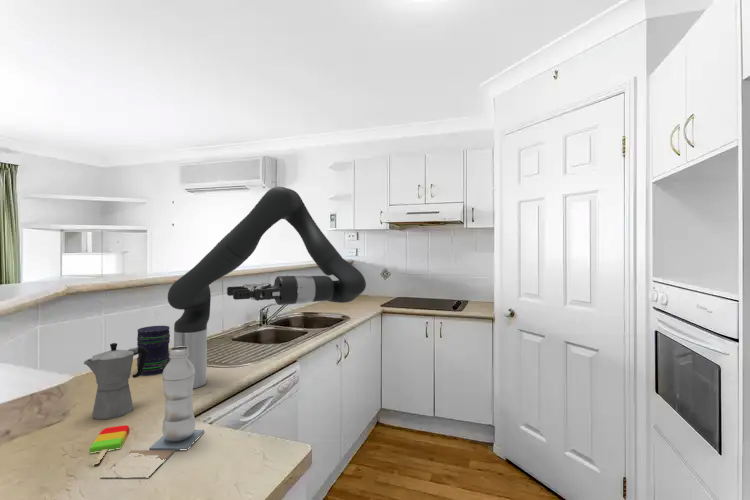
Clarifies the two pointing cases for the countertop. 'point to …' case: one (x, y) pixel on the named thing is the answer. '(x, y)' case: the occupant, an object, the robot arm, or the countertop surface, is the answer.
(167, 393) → the plastic bottle
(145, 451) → the tile
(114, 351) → the coffeepot
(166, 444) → the slate pad
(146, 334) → the storage jar
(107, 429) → the popsicle
